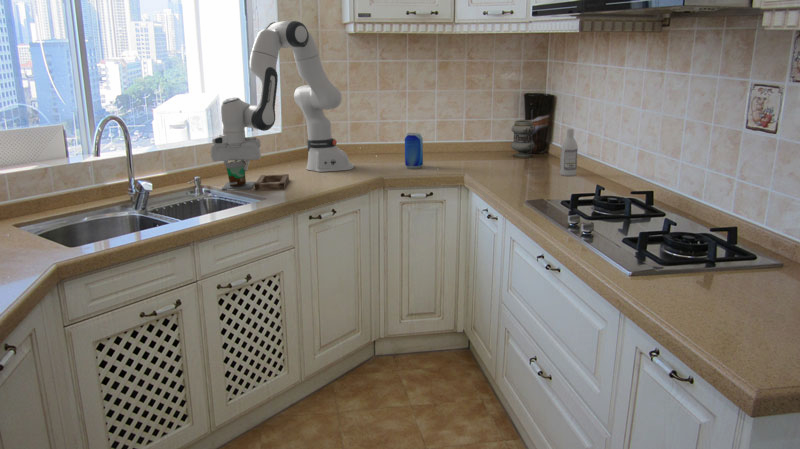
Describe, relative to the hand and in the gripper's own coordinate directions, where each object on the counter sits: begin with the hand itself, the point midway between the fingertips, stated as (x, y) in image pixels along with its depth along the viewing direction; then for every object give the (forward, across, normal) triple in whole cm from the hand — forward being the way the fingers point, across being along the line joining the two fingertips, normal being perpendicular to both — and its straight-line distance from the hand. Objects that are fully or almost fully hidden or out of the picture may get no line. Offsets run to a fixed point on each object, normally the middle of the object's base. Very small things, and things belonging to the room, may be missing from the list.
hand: (237, 170), depth 271 cm
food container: (+6, -1, 0) cm, 6 cm away
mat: (+7, 0, 0) cm, 7 cm away
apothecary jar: (+7, -134, -48) cm, 143 cm away
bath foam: (+7, -142, -2) cm, 143 cm away
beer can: (+7, -77, -29) cm, 82 cm away
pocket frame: (+7, -14, -1) cm, 16 cm away
